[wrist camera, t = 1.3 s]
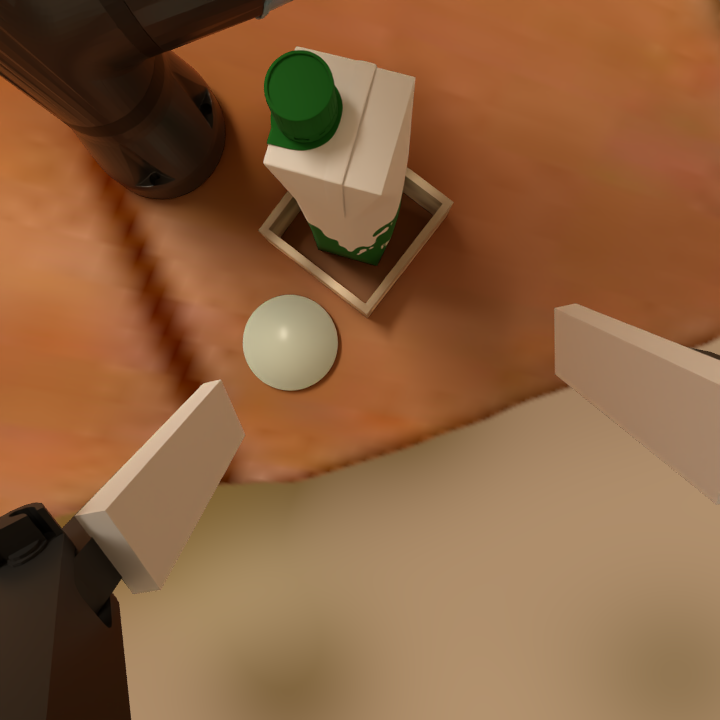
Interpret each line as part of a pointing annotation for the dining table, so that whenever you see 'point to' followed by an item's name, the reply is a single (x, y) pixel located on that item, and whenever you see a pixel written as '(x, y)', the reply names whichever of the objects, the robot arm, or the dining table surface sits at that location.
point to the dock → (438, 208)
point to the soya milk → (340, 146)
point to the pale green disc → (290, 342)
